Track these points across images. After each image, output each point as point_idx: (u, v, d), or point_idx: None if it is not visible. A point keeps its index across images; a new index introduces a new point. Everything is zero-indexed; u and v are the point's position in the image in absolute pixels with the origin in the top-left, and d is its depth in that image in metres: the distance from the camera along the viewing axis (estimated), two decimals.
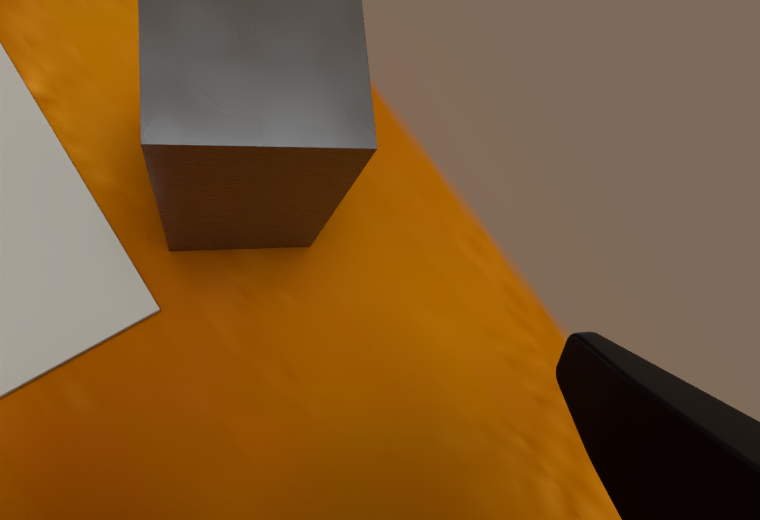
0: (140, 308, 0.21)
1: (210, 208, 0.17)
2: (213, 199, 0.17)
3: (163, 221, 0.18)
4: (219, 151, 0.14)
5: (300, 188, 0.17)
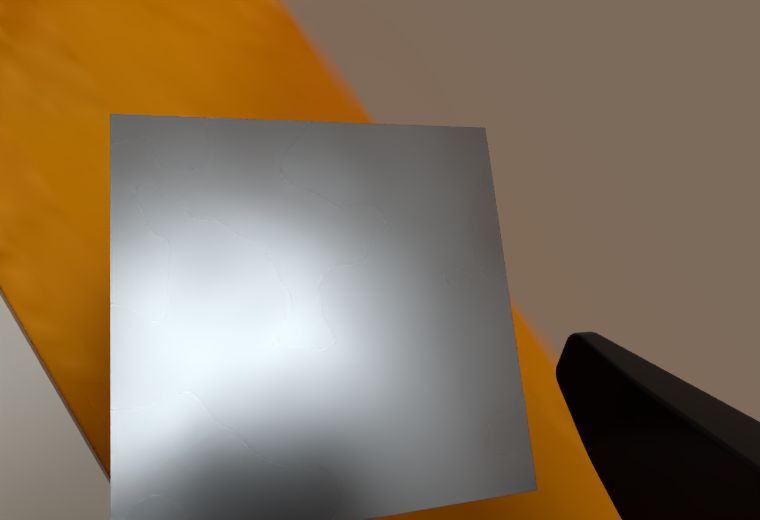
0: None
1: None
2: None
3: None
4: None
5: None
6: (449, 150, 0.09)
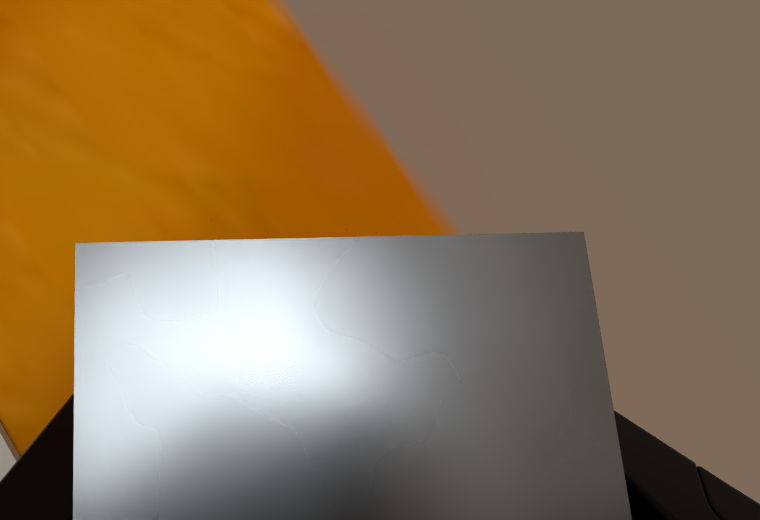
0: None
1: None
2: None
3: None
4: None
5: None
6: (539, 266, 0.07)
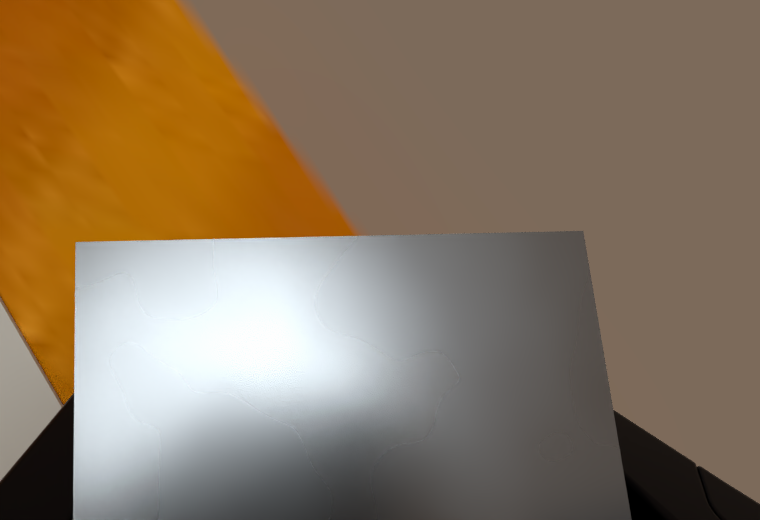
0: None
1: None
2: None
3: None
4: None
5: None
6: (538, 265, 0.07)
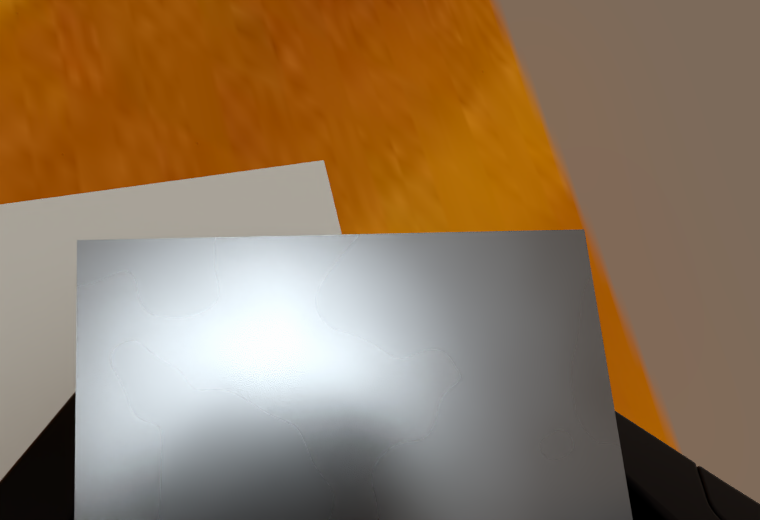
0: None
1: None
2: None
3: None
4: None
5: None
6: (539, 264, 0.07)
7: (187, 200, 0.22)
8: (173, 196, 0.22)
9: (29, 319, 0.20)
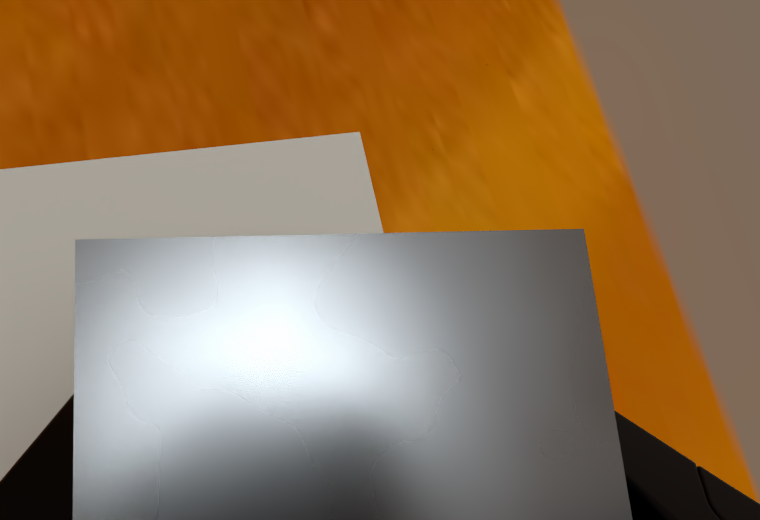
0: None
1: None
2: None
3: None
4: None
5: None
6: (539, 263, 0.07)
7: (208, 171, 0.19)
8: (192, 166, 0.19)
9: (26, 301, 0.17)
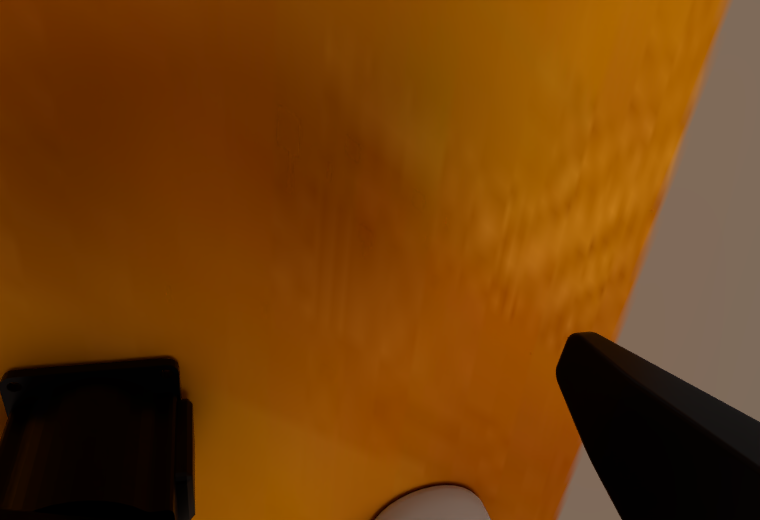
0: None
1: None
2: None
3: None
4: None
5: None
6: None
7: None
8: None
9: None
